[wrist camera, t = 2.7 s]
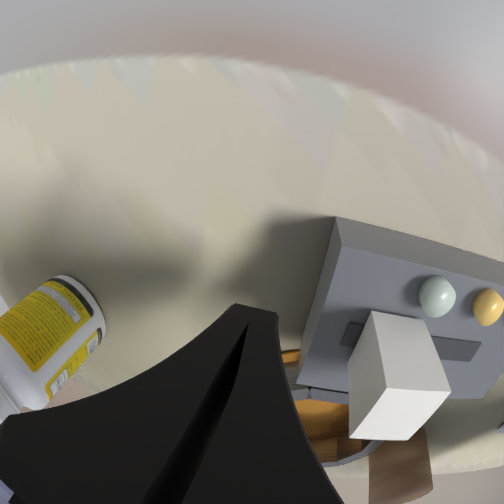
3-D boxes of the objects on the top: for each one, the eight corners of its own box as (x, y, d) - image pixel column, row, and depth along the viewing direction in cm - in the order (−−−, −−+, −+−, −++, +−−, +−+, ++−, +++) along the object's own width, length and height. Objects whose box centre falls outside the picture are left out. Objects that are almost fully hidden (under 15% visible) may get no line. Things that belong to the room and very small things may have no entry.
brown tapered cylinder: (436, 426, 14) (445, 481, 10) (406, 454, 16) (409, 503, 12) (385, 425, 15) (389, 488, 11) (359, 453, 17) (357, 507, 12)
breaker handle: (423, 319, 8) (451, 391, 5) (395, 370, 9) (407, 440, 6) (371, 310, 8) (386, 387, 5) (347, 363, 9) (349, 437, 6)
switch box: (515, 267, 9) (553, 305, 6) (465, 360, 12) (484, 407, 9) (335, 216, 11) (343, 254, 7) (301, 336, 13) (294, 394, 10)
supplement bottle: (43, 269, 16) (-57, 346, 7) (93, 275, 15) (-28, 382, 6) (67, 332, 18) (-10, 414, 9) (119, 347, 17) (35, 455, 8)
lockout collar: (422, 363, 12) (431, 394, 10) (354, 449, 17) (354, 474, 15) (239, 330, 14) (226, 362, 12) (225, 428, 18) (216, 452, 16)
